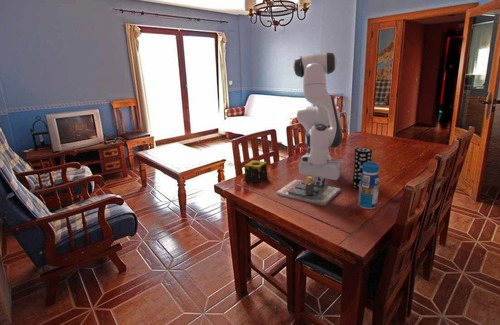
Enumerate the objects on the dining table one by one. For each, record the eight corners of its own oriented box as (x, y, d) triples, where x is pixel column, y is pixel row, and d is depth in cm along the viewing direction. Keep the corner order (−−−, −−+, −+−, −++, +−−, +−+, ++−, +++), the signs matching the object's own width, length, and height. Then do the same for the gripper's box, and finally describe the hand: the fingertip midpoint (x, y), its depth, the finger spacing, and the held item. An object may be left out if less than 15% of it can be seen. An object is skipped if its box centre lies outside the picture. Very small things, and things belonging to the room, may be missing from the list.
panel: (295, 181, 165) (295, 177, 164) (339, 191, 150) (340, 185, 149) (276, 194, 150) (276, 189, 149) (324, 206, 135) (324, 200, 134)
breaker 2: (308, 191, 143) (309, 181, 142) (313, 192, 142) (313, 182, 140) (305, 194, 141) (305, 184, 139) (310, 195, 139) (310, 185, 138)
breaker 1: (307, 185, 151) (307, 175, 149) (312, 186, 150) (312, 176, 148) (304, 187, 148) (304, 178, 147) (309, 188, 147) (309, 178, 145)
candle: (253, 175, 179) (252, 159, 176) (267, 177, 174) (267, 161, 171) (244, 180, 171) (243, 164, 168) (259, 183, 166) (258, 166, 163)
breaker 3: (320, 182, 154) (320, 173, 152) (324, 183, 153) (325, 173, 151) (317, 184, 151) (317, 175, 150) (322, 185, 150) (322, 176, 148)
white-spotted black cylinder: (349, 184, 158) (351, 149, 151) (361, 182, 160) (364, 147, 154) (359, 190, 150) (362, 152, 144) (372, 187, 153) (375, 150, 147)
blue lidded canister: (354, 202, 137) (357, 161, 131) (372, 200, 138) (375, 160, 132) (362, 210, 129) (365, 167, 123) (381, 208, 130) (385, 166, 124)
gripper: (342, 159, 137) (341, 186, 142) (303, 154, 149) (303, 179, 153) (337, 163, 133) (336, 191, 137) (297, 157, 144) (297, 183, 149)
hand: (318, 184), depth 145 cm, fingers closed
